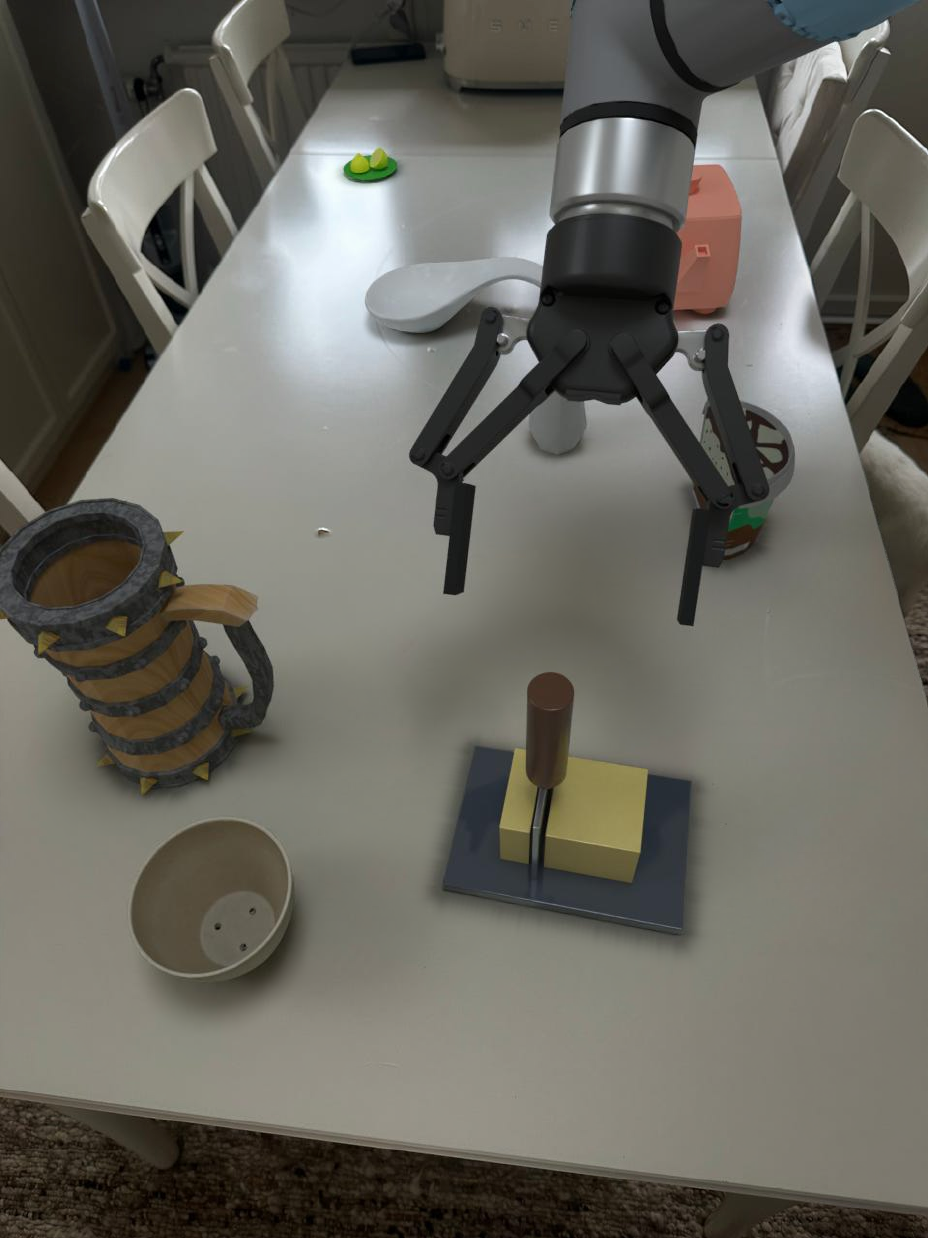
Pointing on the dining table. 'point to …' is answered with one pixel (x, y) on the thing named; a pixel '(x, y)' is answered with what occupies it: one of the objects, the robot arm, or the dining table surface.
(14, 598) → the mug
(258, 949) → the flower pot
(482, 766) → the butter dish
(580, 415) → the salt shaker
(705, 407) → the food container
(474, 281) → the spoon rest
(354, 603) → the dining table surface
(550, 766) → the knife
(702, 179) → the teapot
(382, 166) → the lemon
